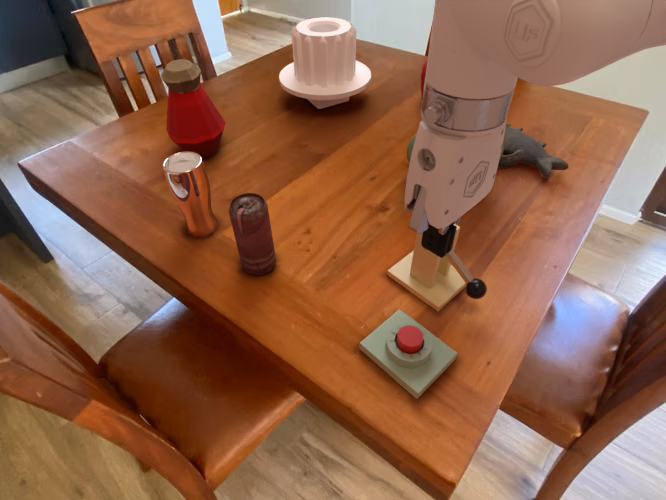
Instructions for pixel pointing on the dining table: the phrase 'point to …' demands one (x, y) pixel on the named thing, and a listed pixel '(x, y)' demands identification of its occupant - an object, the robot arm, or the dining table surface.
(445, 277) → the switch bracket
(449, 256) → the switch lever
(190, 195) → the beer glass
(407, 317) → the grey button base
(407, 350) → the console button
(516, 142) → the grey toy shark
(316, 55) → the ribbed cylinder on disc
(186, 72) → the bottle
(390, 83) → the dining table surface
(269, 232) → the can
